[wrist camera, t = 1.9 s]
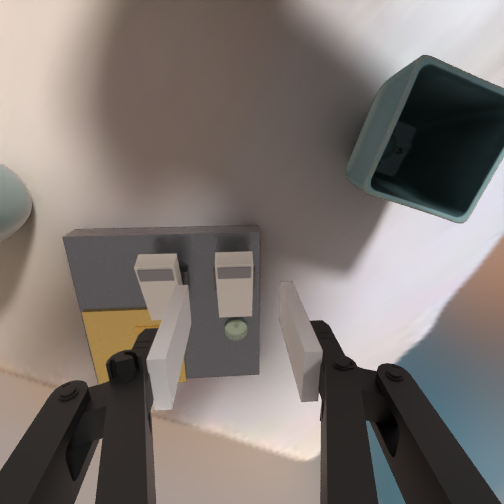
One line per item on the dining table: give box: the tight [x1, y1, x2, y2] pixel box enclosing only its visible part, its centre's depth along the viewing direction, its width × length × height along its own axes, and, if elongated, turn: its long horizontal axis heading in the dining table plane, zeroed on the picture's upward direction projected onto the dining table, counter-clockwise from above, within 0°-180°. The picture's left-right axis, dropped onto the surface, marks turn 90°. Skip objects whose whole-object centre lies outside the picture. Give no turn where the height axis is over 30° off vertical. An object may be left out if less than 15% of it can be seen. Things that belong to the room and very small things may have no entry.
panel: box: [63, 225, 260, 384], centre depth 31 cm, size 17×18×3 cm
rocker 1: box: [134, 253, 183, 320], centre depth 27 cm, size 7×3×2 cm, turn 2°
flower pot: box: [346, 55, 504, 223], centre depth 24 cm, size 9×9×9 cm
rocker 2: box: [215, 251, 253, 318], centre depth 27 cm, size 7×3×2 cm, turn 2°
